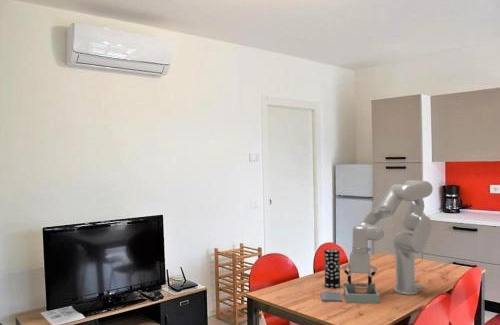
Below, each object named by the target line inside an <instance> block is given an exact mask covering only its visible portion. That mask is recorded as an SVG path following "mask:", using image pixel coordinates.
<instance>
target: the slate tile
mask: <svg viewBox="0 0 500 325" xmlns="http://www.w3.org/2000/svg"><path fill="white" fill-rule="evenodd" d="M320 296H321V302H328V303H329V302H334V303H342V302H343V298H342V294H341V291H340V292H339V291H320Z"/></svg>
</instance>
